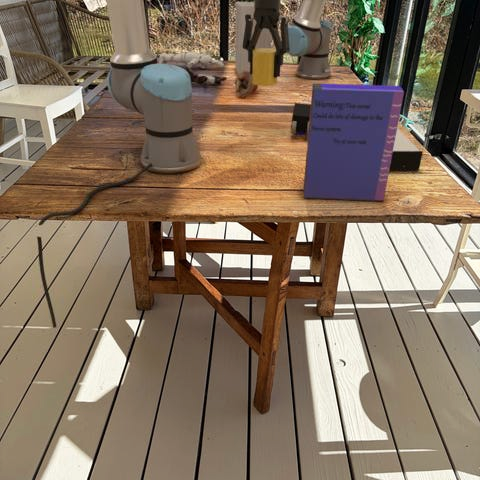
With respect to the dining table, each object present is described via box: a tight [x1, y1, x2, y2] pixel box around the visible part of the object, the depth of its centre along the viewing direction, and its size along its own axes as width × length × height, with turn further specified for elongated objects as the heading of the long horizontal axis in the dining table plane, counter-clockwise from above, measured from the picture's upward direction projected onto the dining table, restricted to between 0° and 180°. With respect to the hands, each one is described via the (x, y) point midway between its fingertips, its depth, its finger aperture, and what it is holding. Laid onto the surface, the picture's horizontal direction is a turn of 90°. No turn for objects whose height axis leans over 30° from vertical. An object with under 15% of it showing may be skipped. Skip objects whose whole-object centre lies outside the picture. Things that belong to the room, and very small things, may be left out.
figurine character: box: [290, 102, 311, 140], centre depth 143 cm, size 7×8×15 cm
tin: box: [252, 47, 278, 87], centre depth 149 cm, size 8×8×10 cm
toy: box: [158, 51, 225, 70], centre depth 222 cm, size 24×25×7 cm
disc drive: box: [389, 127, 424, 172], centre depth 128 cm, size 18×22×5 cm
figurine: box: [174, 64, 228, 85], centre depth 193 cm, size 24×8×30 cm
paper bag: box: [234, 1, 272, 76], centre depth 210 cm, size 19×15×28 cm
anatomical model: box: [234, 70, 259, 99], centre depth 181 cm, size 13×9×15 cm
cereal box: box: [302, 83, 405, 202], centre depth 102 cm, size 17×5×24 cm, turn 86°
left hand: (264, 74), depth 150 cm, fingers closed on tin, 8 cm apart
